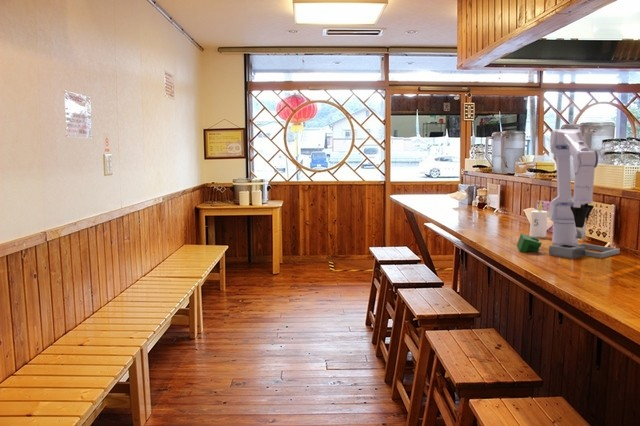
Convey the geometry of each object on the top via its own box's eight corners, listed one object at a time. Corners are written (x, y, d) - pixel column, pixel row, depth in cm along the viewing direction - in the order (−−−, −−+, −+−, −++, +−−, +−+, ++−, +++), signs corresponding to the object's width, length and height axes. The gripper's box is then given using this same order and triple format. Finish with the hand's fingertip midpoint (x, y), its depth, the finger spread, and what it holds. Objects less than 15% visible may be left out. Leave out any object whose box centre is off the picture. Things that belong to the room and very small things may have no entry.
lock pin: (576, 237, 170) (577, 216, 169) (586, 238, 168) (587, 217, 167) (573, 238, 168) (575, 217, 167) (583, 239, 166) (585, 218, 165)
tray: (582, 249, 180) (582, 243, 179) (619, 256, 169) (619, 249, 169) (563, 254, 172) (563, 247, 172) (600, 260, 162) (601, 253, 162)
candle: (527, 236, 208) (529, 200, 206) (532, 234, 212) (534, 199, 210) (543, 238, 203) (545, 201, 201) (548, 235, 208) (550, 200, 206)
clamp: (533, 266, 173) (542, 246, 168) (515, 261, 174) (523, 241, 169) (533, 248, 182) (542, 228, 177) (516, 243, 184) (524, 223, 179)
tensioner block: (561, 254, 172) (562, 243, 172) (584, 258, 166) (585, 246, 165) (548, 257, 168) (549, 245, 167) (571, 261, 161) (572, 249, 161)
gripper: (576, 184, 174) (573, 222, 176) (564, 187, 163) (561, 228, 165) (598, 185, 169) (595, 224, 171) (588, 188, 158) (585, 230, 160)
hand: (580, 226), depth 168 cm, fingers closed on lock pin, 3 cm apart
